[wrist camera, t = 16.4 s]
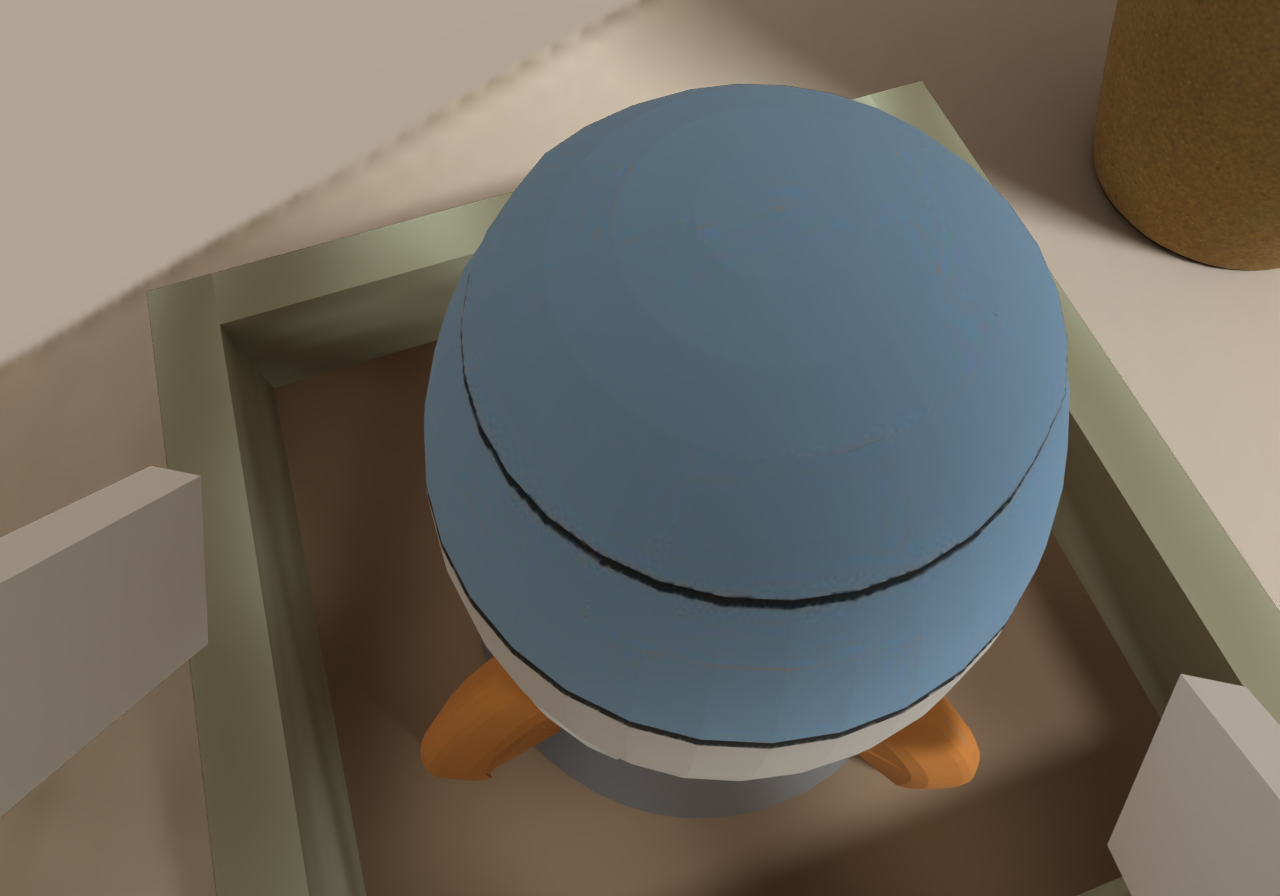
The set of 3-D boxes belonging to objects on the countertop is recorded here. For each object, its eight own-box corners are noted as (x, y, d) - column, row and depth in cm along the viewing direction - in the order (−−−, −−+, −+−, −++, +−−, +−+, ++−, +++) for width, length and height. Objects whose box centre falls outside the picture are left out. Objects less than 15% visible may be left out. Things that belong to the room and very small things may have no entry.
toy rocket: (456, 883, 17) (-307, 537, 5) (533, 462, 23) (257, -152, 11) (973, 920, 16) (1587, 537, 4) (912, 455, 22) (1067, -275, 10)
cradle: (883, 187, 26) (921, 80, 22) (1300, 881, 18) (1470, 894, 14) (226, 376, 23) (147, 291, 19) (368, 1285, 15) (278, 1429, 11)
